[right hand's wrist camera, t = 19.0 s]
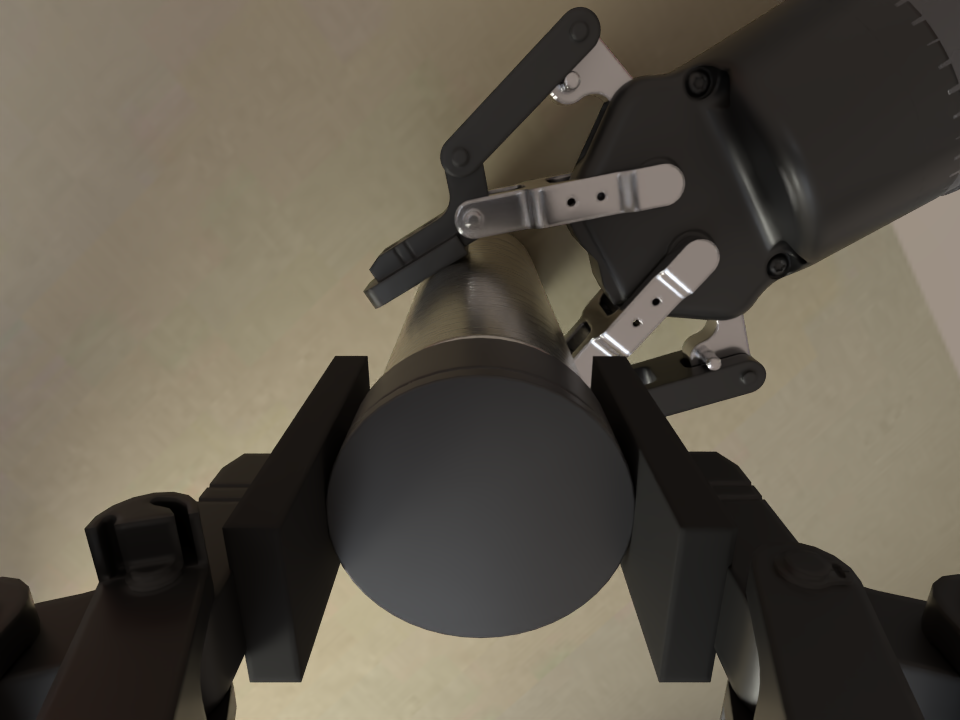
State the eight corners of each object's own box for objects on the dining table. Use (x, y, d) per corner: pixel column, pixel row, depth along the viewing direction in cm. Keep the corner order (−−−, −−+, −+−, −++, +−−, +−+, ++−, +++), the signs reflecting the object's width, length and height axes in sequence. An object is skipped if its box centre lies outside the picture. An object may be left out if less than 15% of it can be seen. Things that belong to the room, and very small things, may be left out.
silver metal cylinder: (555, 294, 27) (664, 521, 11) (467, 351, 28) (450, 636, 12) (495, 202, 26) (521, 311, 10) (405, 266, 27) (291, 461, 11)
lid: (355, 319, 11) (331, 356, 9) (638, 354, 11) (668, 396, 9) (342, 554, 13) (319, 623, 11) (585, 579, 13) (602, 652, 11)
